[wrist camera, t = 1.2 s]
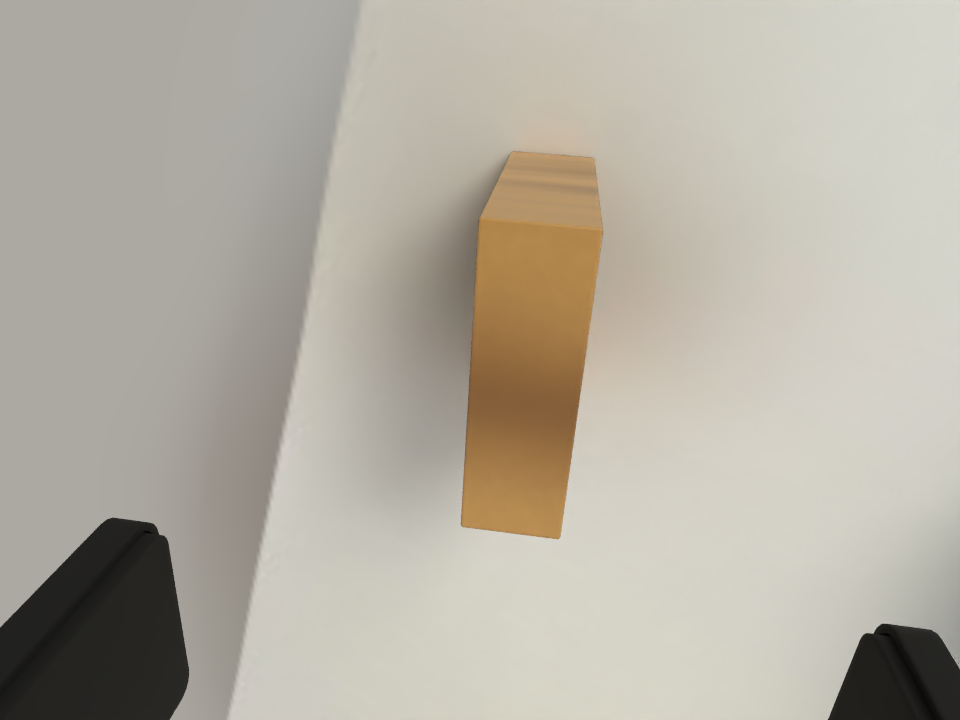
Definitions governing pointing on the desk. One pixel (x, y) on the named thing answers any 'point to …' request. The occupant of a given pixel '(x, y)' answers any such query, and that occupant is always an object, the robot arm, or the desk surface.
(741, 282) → the desk surface
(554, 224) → the golden wooden block
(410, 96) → the desk surface
